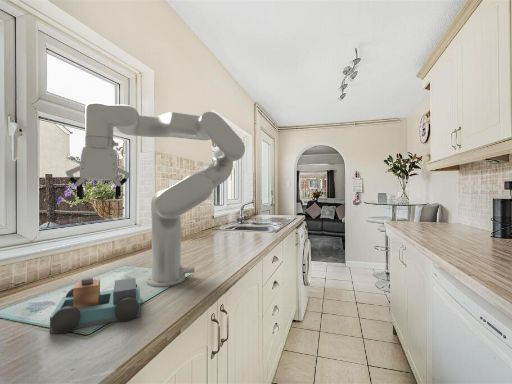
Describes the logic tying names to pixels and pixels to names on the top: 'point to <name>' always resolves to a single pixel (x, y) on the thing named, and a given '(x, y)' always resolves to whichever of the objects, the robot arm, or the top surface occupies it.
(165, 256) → the robot arm
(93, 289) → the orange block with knob
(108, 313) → the chassis
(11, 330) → the top surface
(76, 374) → the top surface
